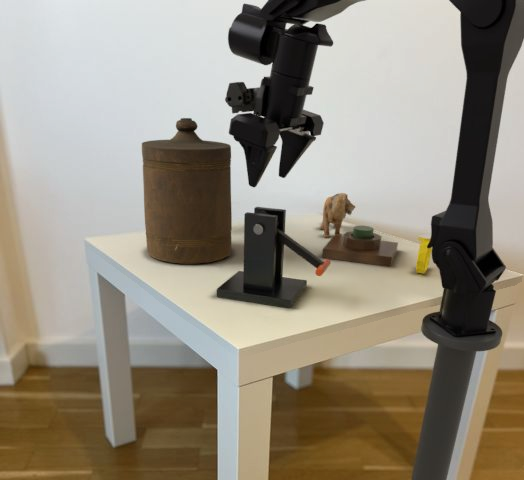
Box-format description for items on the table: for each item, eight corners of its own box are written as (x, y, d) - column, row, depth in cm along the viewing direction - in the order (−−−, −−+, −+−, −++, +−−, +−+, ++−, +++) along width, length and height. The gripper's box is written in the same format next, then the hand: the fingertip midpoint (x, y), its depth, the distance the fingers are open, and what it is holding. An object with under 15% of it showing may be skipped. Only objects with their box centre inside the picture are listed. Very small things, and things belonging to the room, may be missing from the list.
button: (373, 236, 99) (375, 226, 98) (370, 241, 96) (372, 231, 95) (354, 234, 100) (355, 224, 99) (350, 238, 97) (351, 229, 96)
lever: (325, 270, 79) (334, 257, 77) (317, 281, 74) (327, 268, 73) (258, 221, 79) (267, 208, 78) (246, 229, 75) (255, 215, 73)
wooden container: (207, 237, 107) (206, 114, 97) (246, 257, 95) (249, 121, 86) (134, 246, 99) (125, 115, 89) (167, 269, 88) (160, 122, 78)
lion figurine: (353, 242, 107) (358, 195, 103) (326, 242, 106) (331, 195, 102) (334, 223, 120) (338, 181, 116) (310, 223, 119) (313, 181, 115)
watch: (427, 278, 89) (433, 242, 86) (409, 275, 90) (415, 239, 87) (432, 268, 94) (438, 233, 91) (416, 265, 95) (421, 231, 92)
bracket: (306, 287, 83) (312, 209, 78) (290, 308, 75) (295, 223, 70) (238, 277, 86) (239, 201, 81) (216, 296, 78) (216, 214, 73)
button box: (396, 251, 102) (399, 232, 101) (390, 266, 94) (393, 246, 92) (333, 243, 105) (335, 225, 104) (322, 257, 97) (323, 238, 95)
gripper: (275, 60, 87) (255, 157, 96) (206, 58, 73) (191, 173, 82) (336, 79, 84) (310, 179, 92) (276, 81, 69) (252, 199, 78)
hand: (267, 181), depth 86 cm, fingers open, 9 cm apart
